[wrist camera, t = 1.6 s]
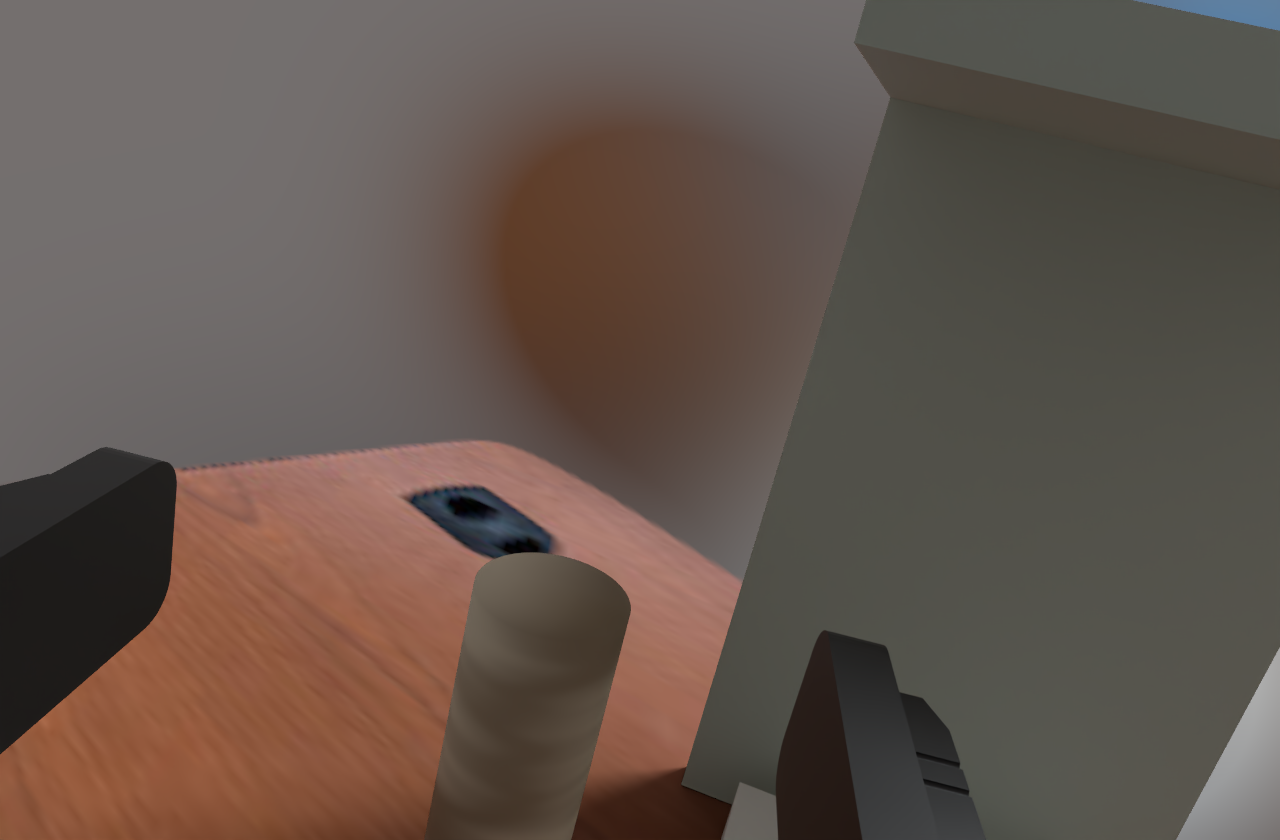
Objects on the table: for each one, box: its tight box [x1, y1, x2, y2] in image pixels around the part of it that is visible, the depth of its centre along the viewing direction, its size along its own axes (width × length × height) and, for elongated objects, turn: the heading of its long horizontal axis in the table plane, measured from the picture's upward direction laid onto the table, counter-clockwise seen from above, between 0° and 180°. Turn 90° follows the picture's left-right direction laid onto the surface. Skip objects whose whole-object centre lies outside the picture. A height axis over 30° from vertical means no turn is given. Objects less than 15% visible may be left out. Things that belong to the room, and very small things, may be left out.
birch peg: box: [424, 553, 631, 840], centre depth 26 cm, size 4×4×12 cm
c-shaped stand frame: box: [681, 0, 1280, 840], centre depth 23 cm, size 16×17×27 cm
